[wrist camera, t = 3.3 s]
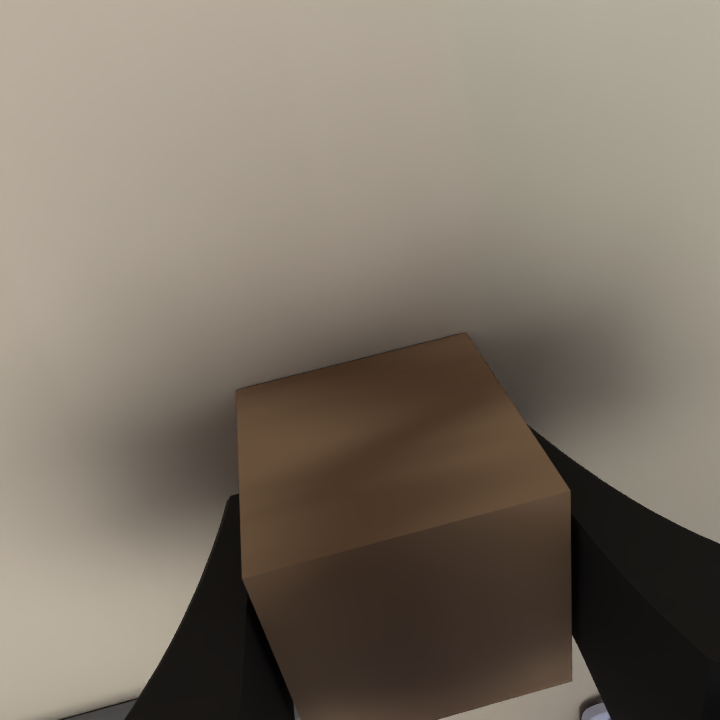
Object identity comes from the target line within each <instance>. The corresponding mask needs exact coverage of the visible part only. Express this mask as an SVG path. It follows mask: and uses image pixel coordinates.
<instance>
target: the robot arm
mask: <svg viewBox="0 0 720 720" xmlns="http://www.w3.org/2000/svg"><path fill="white" fill-rule="evenodd" d="M527 426H528V425H527ZM528 427H529V429H530V430H531V432H532V433H533V435H534V436H535V438H536V439H537V441H538V442H539V444H540V445H541V447H542V448H543V450H544V451H545V453H546V454H547V456H548V457H549V459H550V460H551V462H552V463H553V465H554V466H555V468H556V469H557V471H558V472H559V474H560V475H561V477H562V478H563V480H564V482H565V483H566V485H567V486H568V488H569V489H570V491H571V604H572V636H573V637H574V639H575V641H576V643H577V645H578V647H579V649H580V651H581V654H582V656H583V658H584V660H585V662H586V665H587V667H588V669H589V671H590V673H591V676H592V678H593V680H594V682H595V684H596V687H597V689H598V691H599V693H600V696H601V698H602V700H603V703H600V704H596V705H593V706H591V707H589V708H588V709H586V710H585V711H584V713H583V715H582V720H720V544H719V543H717V542H714V541H712V540H710V539H707V538H705V537H703V536H701V535H698V534H696V533H694V532H692V531H690V530H688V529H686V528H684V527H681V526H679V525H678V524H676V523H674V522H672V521H670V520H668V519H666V518H664V517H662V516H660V515H658V514H656V513H655V512H653V511H651V510H649V509H647V508H646V507H644V506H642V505H641V504H639V503H637V502H635V501H634V500H632V499H631V498H629V497H627V496H626V495H624V494H623V493H621V492H619V491H618V490H616V489H615V488H613V487H611V486H610V485H608V484H607V483H605V482H604V481H602V480H601V479H599V478H598V477H597V476H595V475H594V474H592V473H591V472H589V471H588V470H586V469H585V468H584V467H582V466H581V465H579V464H578V463H576V462H575V461H574V460H572V459H571V458H570V457H568V456H567V455H566V454H564V453H563V452H562V451H560V450H559V449H558V448H556V447H555V446H554V445H552V444H551V443H550V442H549V441H547V440H546V439H545V438H543V437H542V436H541V435H540V434H538V433H537V432H536V431H535V430H533V429H532V428H531V427H530V426H528ZM124 720H295V715H294V702H293V699H292V697H291V695H290V692H289V690H288V687H287V685H286V683H285V680H284V678H283V675H282V673H281V671H280V668H279V666H278V663H277V661H276V659H275V656H274V654H273V652H272V649H271V647H270V644H269V642H268V640H267V637H266V635H265V632H264V630H263V628H262V625H261V623H260V620H259V618H258V616H257V613H256V611H255V608H254V606H253V604H252V601H251V599H250V596H249V594H248V592H247V589H246V587H245V585H244V582H243V580H242V564H241V532H240V501H239V494H236V495H232V496H230V497H229V499H228V500H227V502H226V506H225V510H224V514H223V517H222V520H221V524H220V527H219V530H218V533H217V536H216V539H215V542H214V545H213V548H212V551H211V553H210V556H209V558H208V561H207V564H206V566H205V569H204V571H203V574H202V576H201V579H200V581H199V584H198V586H197V589H196V591H195V593H194V595H193V597H192V600H191V602H190V604H189V606H188V608H187V611H186V613H185V615H184V617H183V619H182V621H181V623H180V625H179V627H178V629H177V631H176V633H175V635H174V637H173V639H172V641H171V643H170V645H169V647H168V649H167V650H166V652H165V654H164V656H163V658H162V659H161V661H160V663H159V665H158V666H157V668H156V670H155V671H154V673H153V675H152V676H151V678H150V680H149V681H148V683H147V684H146V686H145V688H144V689H143V691H142V693H141V694H140V696H139V697H138V699H137V700H136V702H135V704H134V705H133V707H132V708H131V710H130V711H129V713H128V714H127V716H126V717H125V718H124Z"/></svg>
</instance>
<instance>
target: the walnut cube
mask: <svg viewBox="0 0 720 720" xmlns="http://www.w3.org/2000/svg"><path fill="white" fill-rule="evenodd" d="M236 407H237V438H238V470H239V501H240V532H241V564H242V580H243V582H244V585H245V587H246V589H247V592H248V594H249V596H250V599H251V601H252V604H253V606H254V608H255V611H256V613H257V616H258V618H259V620H260V623H261V625H262V628H263V630H264V632H265V635H266V637H267V640H268V642H269V644H270V647H271V649H272V652H273V654H274V656H275V659H276V661H277V663H278V666H279V668H280V671H281V673H282V675H283V678H284V680H285V683H286V685H287V687H288V690H289V692H290V695H291V697H292V699H293V702H294V704H295V707H296V709H297V711H298V714H299V716H300V719H301V720H438V719H441V718H445V717H448V716H452V715H455V714H459V713H462V712H466V711H469V710H473V709H476V708H480V707H483V706H487V705H490V704H494V703H497V702H501V701H504V700H508V699H511V698H515V697H518V696H522V695H525V694H529V693H532V692H536V691H539V690H543V689H547V688H550V687H554V686H557V685H561V684H564V683H568V682H571V681H572V604H571V491H570V489H569V488H568V486H567V485H566V483H565V482H564V480H563V478H562V477H561V475H560V474H559V472H558V471H557V469H556V468H555V466H554V465H553V463H552V462H551V460H550V459H549V457H548V456H547V454H546V453H545V451H544V450H543V448H542V447H541V445H540V444H539V442H538V441H537V439H536V438H535V436H534V435H533V433H532V432H531V430H530V429H529V427H528V426H527V424H526V423H525V421H524V420H523V418H522V417H521V415H520V414H519V412H518V410H517V409H516V407H515V406H514V404H513V403H512V401H511V400H510V398H509V397H508V395H507V394H506V392H505V391H504V389H503V388H502V386H501V385H500V383H499V382H498V380H497V379H496V377H495V376H494V374H493V373H492V371H491V370H490V368H489V367H488V365H487V364H486V362H485V361H484V359H483V358H482V356H481V355H480V353H479V352H478V350H477V349H476V347H475V346H474V344H473V342H472V341H471V339H470V338H469V336H468V335H467V333H462V334H458V335H454V336H450V337H446V338H442V339H438V340H434V341H430V342H426V343H422V344H418V345H414V346H410V347H406V348H402V349H398V350H394V351H390V352H386V353H382V354H378V355H374V356H370V357H366V358H362V359H358V360H354V361H350V362H346V363H342V364H338V365H334V366H330V367H326V368H322V369H318V370H314V371H310V372H306V373H302V374H298V375H294V376H290V377H286V378H282V379H278V380H274V381H270V382H266V383H262V384H258V385H254V386H250V387H246V388H242V389H238V390H236Z"/></svg>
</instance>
